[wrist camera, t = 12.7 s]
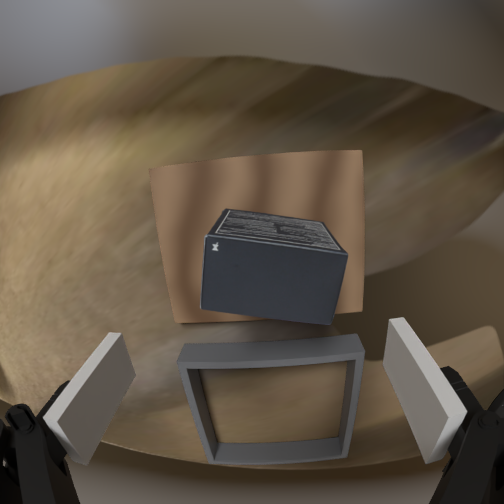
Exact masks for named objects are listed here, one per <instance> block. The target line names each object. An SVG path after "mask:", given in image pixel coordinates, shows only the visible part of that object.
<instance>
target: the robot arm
mask: <svg viewBox="0 0 504 504" xmlns="http://www.w3.org/2000/svg"><path fill="white" fill-rule="evenodd" d="M383 367H384V369H385V371H386V373H387V375H388V377H389V380H390V382H391V384H392V386H393V388H394V391H395V393H396V395H397V397H398V399H399V402H400V404H401V406H402V408H403V411H404V413H405V415H406V418H407V420H408V422H409V425H410V427H411V429H412V432H413V434H414V437H415V439H416V441H417V444H418V446H419V449H420V451H421V454H422V456H423V459H424V461H425V464H428V463H431V462H434V461H437V460H441V459H443V457H444V456H445V454H446V452H447V450H448V451H449V453H450V455H451V458H450V460H449V461H448V463H447V465H446V466H445V468H444V470H443V472H444V473H443V475H442V478H441V480H440V482H439V484H438V486H437V488H436V491H435V493H434V495H433V497H432V499H431V501H430V503H429V504H504V390H503V391H502V392H501V393H500V394H499V395H498V397H497V398H496V399H495V400H494V402H493V403H492V404H491V406H490V407H489V409H488V410H483V408H482V407H481V405H480V404H479V402H478V401H477V399H476V398H475V396H474V395H473V393H472V392H471V390H470V389H469V388H468V387H467V385H466V383H465V382H463V379H462V378H461V376H460V375H459V373H458V372H457V371H455V370H454V369H452V368H451V367H449V366H447V367H443V368H439V367H438V365H437V364H436V362H435V361H434V359H433V358H432V357H431V355H430V354H429V352H428V351H427V349H426V348H425V347H424V345H423V344H422V342H421V341H420V339H419V338H418V337H417V336H416V334H415V333H414V331H413V330H412V329H411V327H410V326H409V324H408V323H407V322H406V320H405V319H404V318H403V317H402V318H395V319H389V325H388V333H387V341H386V347H385V354H384V360H383ZM135 376H136V374H135V371H134V368H133V365H132V362H131V359H130V356H129V354H128V351H127V348H126V344H125V341H124V338H123V335H122V333H109V334H108V335H107V336H106V337H105V339H104V340H103V341H102V342H101V344H100V345H99V346H98V347H97V348H96V350H95V351H94V352H93V353H92V355H91V356H90V357H89V358H88V360H87V361H86V362H85V363H84V365H83V366H82V367H81V368H80V370H79V371H78V372H77V373H76V375H75V376H74V377H73V379H72V380H71V381H69V380H68V381H66V382H65V383H64V384H62V385H61V386H60V387H59V388H58V389H57V390H56V392H55V393H54V395H52V397H51V398H50V400H49V401H48V402H47V403H46V404H45V406H44V407H43V408H42V410H41V411H40V412H39V414H38V415H37V416H36V417H35V416H34V414H33V412H32V411H31V409H30V408H29V406H27V405H26V404H17V405H14V406H12V407H11V408H10V409H8V411H7V413H6V415H5V418H6V420H7V421H8V423H9V424H10V426H11V427H9V426H6V425H5V424H4V422H3V421H2V420H1V419H0V504H80V502H79V499H78V496H77V493H76V490H75V487H74V484H73V481H72V478H71V474H70V471H69V468H68V464H67V462H66V460H65V459H64V457H65V455H66V454H68V455H69V456H70V458H71V459H72V460H73V461H74V462H77V463H80V464H84V465H88V463H89V461H90V459H91V457H92V455H93V453H94V451H95V449H96V447H97V445H98V444H99V442H100V440H101V438H102V436H103V434H104V432H105V430H106V429H107V427H108V425H109V423H110V421H111V419H112V418H113V416H114V414H115V412H116V410H117V408H118V407H119V405H120V403H121V401H122V399H123V397H124V396H125V394H126V392H127V390H128V388H129V387H130V385H131V383H132V381H133V380H134V378H135ZM3 460H4V461H5V462H6V464H5V467H4V466H3Z"/></svg>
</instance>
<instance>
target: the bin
mask: <svg viewBox="0 0 504 504" xmlns="http://www.w3.org/2000/svg"><path fill="white" fill-rule="evenodd" d="M364 354H365V350H364V348H363V346H362V344H361V341H360V339H359V337H358V335H357V334H349V335H340V336H330V337H320V338H308V339H296V340H282V341H265V342H244V343H209V344H184V346H183V348H182V351H181V353H180V355H179V358H178V360H177V365H178V368H179V372H180V375H181V379H182V382H183V386H184V389H185V393H186V396H187V399H188V402H189V406H190V409H191V412H192V415H193V418H194V421H195V424H196V427H197V430H198V433H199V436H200V439H201V442H202V445H203V448H204V451H205V454H206V456H207V459H208V462H209V463H210V464H237V465H261V464H287V463H302V462H313V461H323V460H331V459H339V458H346V457H347V455H348V451H349V446H350V441H351V437H352V432H353V426H354V421H355V416H356V410H357V404H358V398H359V392H360V385H361V378H362V371H363V363H364ZM346 360H347V371H346V381H345V390H344V398H343V406H342V414H341V421H340V428H339V435H338V437H334V438H326V439H317V440H306V441H293V442H276V443H217V440H216V436H215V433H214V429H213V426H212V422H211V419H210V415H209V411H208V408H207V404H206V400H205V396H204V392H203V388H202V384H201V380H200V376H199V372H198V369H229V368H261V367H280V366H295V365H307V364H318V363H328V362H337V361H346Z"/></svg>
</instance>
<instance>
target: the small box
mask: <svg viewBox="0 0 504 504" xmlns="http://www.w3.org/2000/svg"><path fill="white" fill-rule="evenodd" d="M347 261H348V253H347V252H346V251H345V250H344V249H343V248H342V247H341V246H340V244H339V243H338V242H337V240H336V239H335V238H334V236H333V235H332V233H331V232H330V231H329V229H328V228H327V227H326V225H325V223H324V222H320V221H314V220H308V219H301V218H294V217H288V216H281V215H273V214H267V213H260V212H251V211H244V210H235V209H227V208H225V209H224V210H223V211H222V214H221V215H220V217H219V218H218V219H217V221H216V222H215V224H214V225H213V227H212V228H211V230H210V231H209V233H208V234H206V235H205V237H204V250H203V263H202V278H201V293H200V308H201V309H202V310H209V311H216V312H223V313H230V314H238V315H245V316H253V317H261V318H270V319H278V320H287V321H296V322H305V323H314V324H324V325H330V324H331V323H332V320H333V317H334V314H335V310H336V306H337V303H338V299H339V295H340V291H341V287H342V282H343V279H344V274H345V270H346V265H347Z"/></svg>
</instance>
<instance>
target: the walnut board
mask: <svg viewBox="0 0 504 504" xmlns="http://www.w3.org/2000/svg"><path fill="white" fill-rule="evenodd" d="M149 174H150V182H151V190H152V198H153V205H154V212H155V218H156V225H157V231H158V237H159V243H160V249H161V255H162V260H163V266H164V271H165V276H166V281H167V286H168V291H169V296H170V301H171V306H172V310H173V315H174V319H175V323H198V322H228V321H250V320H268V319H270V318H261V317H253V316H245V315H238V314H230V313H223V312H216V311H209V310H202V309H201V308H200V293H201V278H202V263H203V250H204V237H205V235H206V234H208V233H209V231H210V230H211V228H212V227H213V225H214V224H215V222H216V221H217V219H218V218H219V217H220V215H221V214H222V211H223V210H224V209H225V208H227V209H235V210H244V211H251V212H260V213H267V214H273V215H281V216H288V217H294V218H301V219H308V220H314V221H320V222H324V223H325V225H326V227H327V228H328V229H329V231H330V232H331V233H332V235H333V236H334V238H335V239H336V240H337V242H338V243H339V244H340V246H341V247H342V248H343V249H344V250H345V251H346V252H347V253H348V261H347V265H346V270H345V274H344V279H343V282H342V287H341V291H340V295H339V299H338V303H337V306H336V310H335V314H341V313H352V312H361V311H362V306H363V287H364V259H365V205H364V176H363V158H362V150H338V151H311V152H293V153H277V154H264V155H253V156H242V157H232V158H223V159H214V160H206V161H198V162H191V163H183V164H177V165H170V166H163V167H157V168H151V169H149Z"/></svg>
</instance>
